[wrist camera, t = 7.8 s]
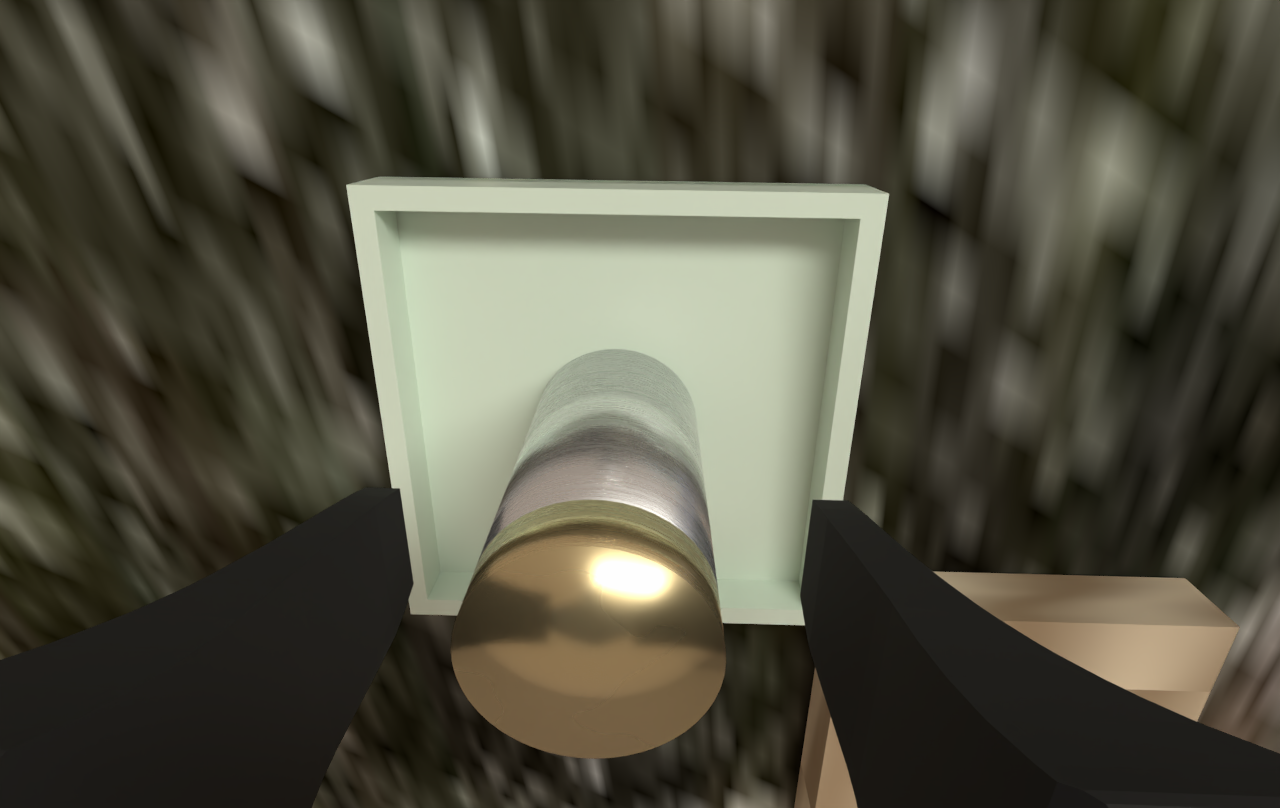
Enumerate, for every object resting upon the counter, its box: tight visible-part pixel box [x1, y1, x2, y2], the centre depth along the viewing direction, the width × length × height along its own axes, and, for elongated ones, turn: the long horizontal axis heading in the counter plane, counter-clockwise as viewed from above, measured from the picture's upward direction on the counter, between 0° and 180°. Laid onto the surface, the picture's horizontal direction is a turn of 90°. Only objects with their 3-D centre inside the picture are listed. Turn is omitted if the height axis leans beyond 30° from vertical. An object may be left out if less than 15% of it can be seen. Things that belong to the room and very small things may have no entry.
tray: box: [346, 177, 889, 625], centre depth 17 cm, size 11×11×2 cm
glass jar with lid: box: [451, 349, 726, 759], centre depth 14 cm, size 4×4×8 cm
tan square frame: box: [794, 572, 1240, 808], centre depth 21 cm, size 10×10×2 cm
